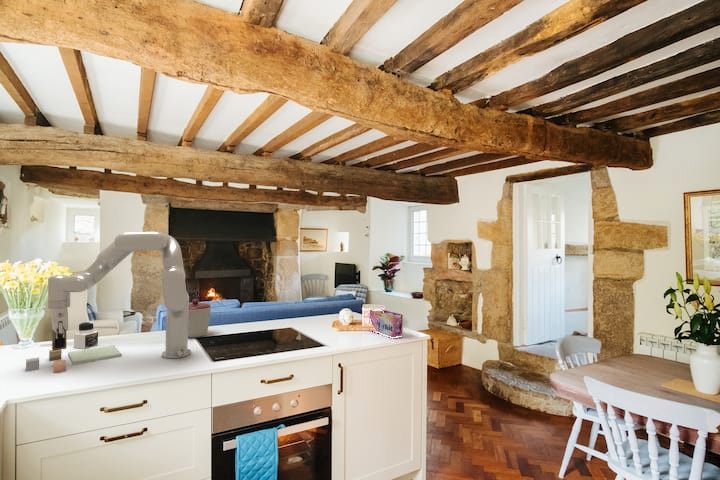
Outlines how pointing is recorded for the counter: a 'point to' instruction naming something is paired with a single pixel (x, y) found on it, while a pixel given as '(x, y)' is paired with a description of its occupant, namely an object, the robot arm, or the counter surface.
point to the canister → (198, 318)
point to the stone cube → (32, 364)
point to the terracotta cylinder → (59, 366)
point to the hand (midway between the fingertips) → (59, 345)
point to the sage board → (94, 354)
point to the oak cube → (55, 355)
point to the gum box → (387, 322)
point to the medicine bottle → (86, 336)
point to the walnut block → (55, 338)
